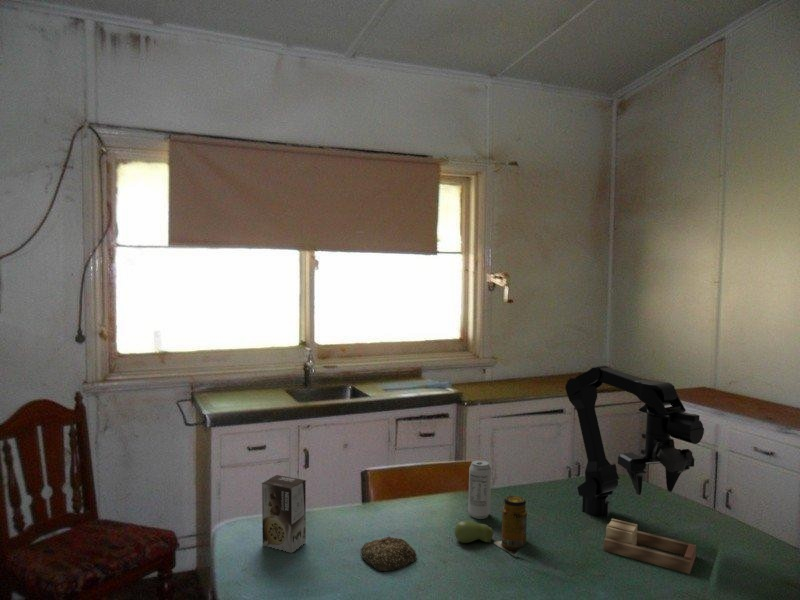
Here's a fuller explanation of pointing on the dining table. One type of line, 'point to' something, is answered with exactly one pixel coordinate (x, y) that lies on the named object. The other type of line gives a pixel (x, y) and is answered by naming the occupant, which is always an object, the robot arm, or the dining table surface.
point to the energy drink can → (479, 489)
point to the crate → (622, 531)
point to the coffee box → (284, 513)
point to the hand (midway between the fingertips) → (654, 492)
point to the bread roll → (388, 553)
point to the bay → (655, 556)
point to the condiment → (513, 524)
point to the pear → (472, 532)
